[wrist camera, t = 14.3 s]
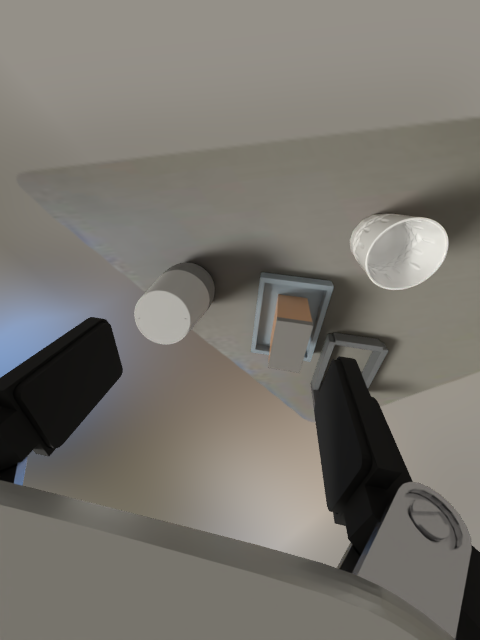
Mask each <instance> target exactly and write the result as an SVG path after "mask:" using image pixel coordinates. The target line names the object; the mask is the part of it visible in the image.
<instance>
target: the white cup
mask: <svg viewBox="0 0 480 640" xmlns="http://www.w3.org/2000/svg"><path fill="white" fill-rule="evenodd" d="M448 246H449V240H448V235H447V233H446V231H445V229H444V228H443V227H442V226H441V225H440V224H439V223H438V222H436V221H434V220H432V219H429V218H424V217H416V216H408V215H400V214H375V215H371V216H370V217H368V218H366V219H364V220H362V221H361V222H360V223H359V224H358V226H357V227H356V228H355V229H354V230H353V233H352V236H351V239H350V248H351V252H352V253H353V254H354V256H355V258H356V260H357V262H358V263H359V265H360V266H361V268H362V269H363V270H364V271H365V273H366V274H367V275H368V277H369V278H370V279H371V281H372V282H373V283H375V284H376V285H378V286H379V287H382V288H385V289H390V290H401V289H406V288H410V287H413V286H416V285H418V284H420V283H422V282H423V281H425V280H426V279H428V278H429V277H430V276H432V275H433V274H434V273H435V272H436V271H437V270H438V268H439V267H440V266H441V264H442V263H443V261H444V259H445V257H446V255H447V252H448Z"/></svg>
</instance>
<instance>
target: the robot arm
mask: <svg viewBox="0 0 480 640" xmlns="http://www.w3.org/2000/svg"><path fill="white" fill-rule="evenodd" d="M122 370H123V369H122V365H121V361H120V357H119V354H118V350H117V346H116V343H115V339H114V335H113V332H112V328H111V325H110V324H109V323H108V322H107V320H105V319H101V318H94V317H90V318H88V319H86V320H85V321H84V322H82V323H81V324H79V325H78V326H76V327H75V328H73V329H72V330H70V331H69V332H67V333H66V334H64V335H63V336H62V337H60V338H59V339H57V340H56V341H54V342H53V343H51V344H50V345H48V346H47V347H45V348H44V349H43V350H41V351H39V352H38V353H36V354H35V355H33V356H32V357H30V358H29V359H27V360H26V361H25V362H23V363H22V364H20V365H19V366H17V367H16V368H14V369H13V370H11V371H10V372H8V373H7V374H5V375H4V376H2V377H1V378H0V640H480V552H479V551H478V550H476V549H475V548H474V547H473V546H472V545H471V537H470V534H469V532H468V529H467V527H466V525H465V523H464V521H463V520H462V518H461V516H460V515H459V514H458V512H457V511H456V510H455V509H454V507H453V506H452V505H451V504H450V503H449V502H448V501H447V500H446V499H445V498H444V497H442V496H441V495H440V494H439V493H437V492H436V491H434V490H433V489H431V488H430V487H428V486H425V485H423V484H420V483H416V482H412V479H411V477H410V475H409V472H408V470H407V468H406V466H405V463H404V461H403V459H402V456H401V454H400V452H399V449H398V447H397V445H396V443H395V440H394V438H393V436H392V434H391V431H390V429H389V426H388V424H387V422H386V420H385V417H384V415H383V413H382V410H381V408H380V406H379V404H378V402H377V400H376V399H375V398H374V397H371V396H370V393H369V391H368V388H367V386H366V383H365V381H364V379H363V376H362V374H361V371H360V369H359V367H358V364H357V362H356V360H355V359H352V358H346V357H338V358H337V360H334V359H333V360H332V361H331V364H330V366H329V369H328V372H327V374H326V377H325V380H324V382H323V385H322V387H321V390H320V393H319V395H318V398H317V401H316V403H315V409H314V413H315V421H316V428H317V435H318V443H319V449H320V457H321V465H322V472H323V479H324V487H325V494H326V501H327V507H328V509H329V511H331V512H333V514H334V521H335V523H336V524H340V525H344V526H346V529H347V534H348V539H349V540H350V542H351V543H350V545H349V547H348V548H347V550H346V552H345V554H344V556H343V557H342V559H341V561H340V563H339V565H338V567H337V568H334V567H331V566H329V565H326V564H323V563H320V562H316V561H312V560H309V559H305V558H302V557H298V556H294V555H291V554H287V553H284V552H280V551H277V550H273V549H269V548H266V547H262V546H259V545H255V544H251V543H247V542H243V541H240V540H235V539H232V538H228V537H224V536H220V535H216V534H212V533H208V532H205V531H201V530H197V529H193V528H189V527H185V526H181V525H177V524H173V523H169V522H165V521H161V520H157V519H154V518H150V517H146V516H142V515H138V514H134V513H130V512H126V511H122V510H118V509H114V508H110V507H106V506H102V505H98V504H94V503H90V502H86V501H82V500H78V499H74V498H70V497H67V496H62V495H58V494H54V493H50V492H46V491H42V490H38V489H34V488H30V487H26V486H23V481H24V475H25V470H26V464H27V458H28V455H29V453H30V452H31V451H32V450H33V451H34V452H35V453H36V454H41V455H45V456H50V454H52V452H53V451H54V450H55V449H56V448H58V447H60V446H61V445H62V444H63V443H64V442H65V441H66V440H67V439H68V438H69V436H70V435H71V434H72V433H73V432H74V431H75V429H76V428H77V427H78V426H79V425H80V423H81V422H82V421H83V420H84V419H85V418H86V416H87V415H88V414H89V413H90V412H91V410H92V409H93V408H94V407H95V406H96V405H97V404H98V402H99V401H100V400H101V399H102V398H103V397H104V395H105V394H106V393H107V392H108V391H109V389H110V388H111V387H112V386H113V385H114V384H115V382H116V381H117V380H118V379H119V378H120V376H121V375H122Z"/></svg>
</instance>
